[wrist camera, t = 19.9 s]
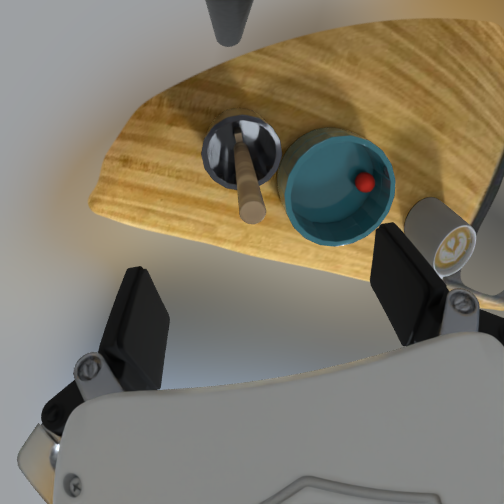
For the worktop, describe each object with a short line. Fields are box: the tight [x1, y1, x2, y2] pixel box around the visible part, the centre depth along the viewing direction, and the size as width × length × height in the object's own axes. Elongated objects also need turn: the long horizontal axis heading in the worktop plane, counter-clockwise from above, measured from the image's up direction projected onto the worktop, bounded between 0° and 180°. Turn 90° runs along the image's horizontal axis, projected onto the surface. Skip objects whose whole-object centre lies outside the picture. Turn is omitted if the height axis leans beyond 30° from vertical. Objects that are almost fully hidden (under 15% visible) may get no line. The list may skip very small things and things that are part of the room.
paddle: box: [234, 127, 266, 224], centre depth 26 cm, size 4×2×22 cm, turn 9°
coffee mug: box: [404, 197, 476, 279], centre depth 42 cm, size 13×10×10 cm
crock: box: [201, 108, 282, 190], centre depth 32 cm, size 8×8×9 cm
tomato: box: [355, 172, 375, 193], centre depth 38 cm, size 3×3×3 cm
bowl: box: [277, 127, 395, 246], centre depth 37 cm, size 16×16×6 cm
